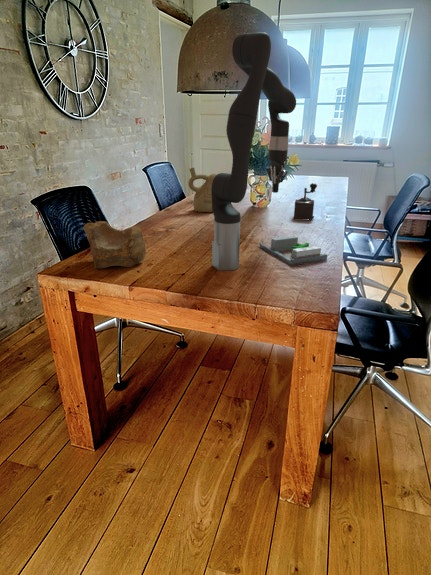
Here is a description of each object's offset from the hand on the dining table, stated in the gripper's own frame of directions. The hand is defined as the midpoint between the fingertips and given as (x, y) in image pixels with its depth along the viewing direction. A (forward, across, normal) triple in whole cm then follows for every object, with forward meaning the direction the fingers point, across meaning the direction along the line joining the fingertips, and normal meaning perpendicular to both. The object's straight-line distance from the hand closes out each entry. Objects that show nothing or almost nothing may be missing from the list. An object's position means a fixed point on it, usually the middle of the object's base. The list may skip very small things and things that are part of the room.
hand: (275, 192), depth 159 cm
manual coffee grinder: (+22, -36, +43) cm, 61 cm away
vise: (+22, +16, 0) cm, 28 cm away
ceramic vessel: (+22, -72, -3) cm, 76 cm away
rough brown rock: (+23, +2, -70) cm, 74 cm away
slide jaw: (+22, +10, 0) cm, 24 cm away
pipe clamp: (+23, +19, +1) cm, 30 cm away
